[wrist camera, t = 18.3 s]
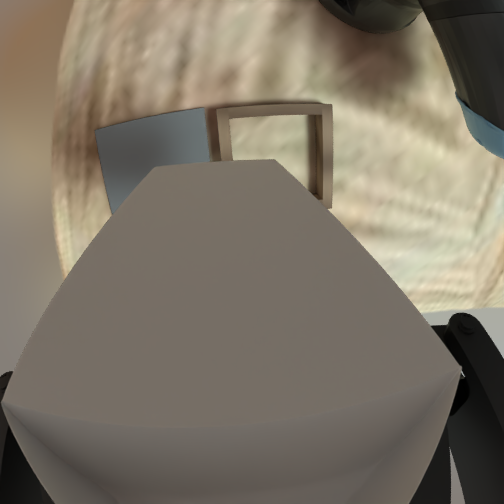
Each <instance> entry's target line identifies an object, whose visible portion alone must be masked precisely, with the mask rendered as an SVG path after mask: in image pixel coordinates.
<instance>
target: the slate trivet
mask: <svg viewBox="0 0 504 504" xmlns="http://www.w3.org/2000/svg"><path fill="white" fill-rule="evenodd" d="M95 135H96V141H97V147H98V153H99V158H100V163H101V168H102V173H103V177H104V182H105V186H106V191H107V195H108V199H109V203H110V207H111V211H112V215H113V214H114V212H115V211H116V210H117V209H118V208H119V206H120V205H121V204H122V203H123V202H124V200H125V199H126V198H127V197H128V196H129V195H130V193H131V192H132V191H133V190H134V189H135V188H136V187H137V185H138V184H139V183H140V182H141V181H142V180H143V179H144V178H145V177H146V176H147V174H148V173H149V172H150V171H151V170H152V169H153V168H154V167H158V166H167V165H177V164H189V163H201V162H210V156H209V147H208V138H207V129H206V119H205V110H204V108H198V109H191V110H185V111H178V112H173V113H167V114H161V115H156V116H151V117H146V118H142V119H137V120H133V121H128V122H124V123H120V124H116V125H112V126H108V127H105V128H101V129H97V130H95Z"/></svg>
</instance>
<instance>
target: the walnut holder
mask: <svg viewBox="0 0 504 504" xmlns="http://www.w3.org/2000/svg"><path fill="white" fill-rule="evenodd" d="M216 112H217V123H218V133H219V143H220V152H221V161H233V157H232V147H231V136H230V125H229V119H232V118H243V117H256V116H273V115H315V127H316V193H312V195H313V196H314V197H315V198H317V199H318V200H319V201H320V202H321V203H322V204H323V205H324V206H325V207H326V208H327V209H330V208H332V192H333V114H332V104H271V105H253V106H240V107H229V108H219V109H216Z"/></svg>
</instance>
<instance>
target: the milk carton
mask: <svg viewBox="0 0 504 504" xmlns="http://www.w3.org/2000/svg"><path fill="white" fill-rule="evenodd" d="M461 370H462V366H460V365H459V364H458V363H457V361H456V360H455V359H454V357H453V356H452V354H451V353H450V352H449V350H448V349H447V347H446V346H445V345H444V343H443V342H442V341H441V339H440V338H439V337H438V335H437V334H436V333H435V331H434V330H433V329H432V327H431V326H430V325H429V324H428V322H427V321H426V320H425V319H424V317H423V316H422V315H421V313H420V312H419V311H418V310H417V308H416V307H415V306H414V305H413V303H412V302H411V301H410V300H409V299H408V297H407V296H406V295H405V294H404V293H403V291H402V290H401V289H400V288H399V287H398V285H397V284H396V283H395V282H394V281H393V280H392V278H391V277H390V276H389V275H388V274H387V273H386V271H385V270H384V269H383V268H382V267H381V266H380V265H379V264H378V262H377V261H376V260H375V259H374V258H373V257H372V256H371V255H370V254H369V252H368V251H367V250H366V249H365V248H364V247H363V246H362V245H361V244H360V243H359V242H358V240H357V239H356V238H355V237H354V236H353V235H352V234H351V233H350V232H349V231H348V230H347V229H346V228H345V227H344V226H343V225H342V224H341V223H340V222H339V221H338V220H337V219H336V217H335V216H334V215H333V214H332V213H331V212H330V211H329V210H328V209H327V208H326V207H325V206H324V205H323V204H322V203H321V202H320V201H319V200H318V199H317V198H315V197H314V196H313V195H312V194H311V193H310V192H309V191H308V190H307V189H306V188H305V187H304V186H303V185H302V184H301V183H300V182H299V181H298V180H297V179H296V178H295V177H294V176H292V175H291V174H290V173H289V172H288V171H287V170H286V169H285V168H284V167H283V166H282V165H281V164H279V163H278V162H277V161H276V160H274V159H268V160H236V161H217V162H201V163H189V164H177V165H167V166H158V167H154V168H153V169H152V170H151V171H150V172H149V173H148V174H147V176H146V177H145V178H144V179H143V180H142V181H141V182H140V183H139V184H138V185H137V187H136V188H135V189H134V190H133V191H132V192H131V193H130V195H129V196H128V197H127V198H126V199H125V200H124V202H123V203H122V204H121V205H120V206H119V208H118V209H117V210H116V211H115V212H114V214H113V215H112V216H111V217H110V219H109V220H108V221H107V222H106V224H105V225H104V226H103V227H102V229H101V230H100V231H99V233H98V234H97V235H96V236H95V238H94V239H93V240H92V242H91V243H90V244H89V246H88V247H87V248H86V250H85V251H84V253H83V254H82V255H81V257H80V258H79V260H78V261H77V262H76V264H75V265H74V267H73V268H72V270H71V271H70V273H69V274H68V276H67V277H66V279H65V280H64V282H63V283H62V285H61V286H60V288H59V290H58V291H57V292H56V294H55V296H54V297H53V299H52V301H51V302H50V304H49V305H48V307H47V309H46V310H45V312H44V314H43V315H42V317H41V319H40V321H39V323H38V324H37V326H36V328H35V329H34V331H33V333H32V335H31V337H30V339H29V341H28V342H27V344H26V346H25V348H24V350H23V352H22V354H21V356H20V358H19V361H18V363H17V365H16V367H15V369H14V371H13V374H12V376H11V378H10V381H9V383H8V386H7V388H6V391H5V394H4V397H3V399H2V401H1V405H2V408H3V411H4V414H5V416H6V419H7V421H8V423H9V426H10V428H11V430H12V432H13V434H14V436H15V438H16V440H17V442H18V444H19V446H20V448H21V450H22V452H23V454H24V456H25V457H26V459H27V461H28V463H29V464H30V466H31V468H32V469H33V471H34V473H35V474H36V476H37V478H38V479H39V481H40V482H41V484H42V485H43V487H44V488H45V490H46V491H47V493H48V494H49V496H50V497H51V499H52V500H53V501H54V503H55V504H409V503H410V501H411V499H412V497H413V495H414V494H415V492H416V490H417V488H418V486H419V484H420V482H421V480H422V478H423V476H424V474H425V472H426V470H427V468H428V466H429V464H430V462H431V459H432V457H433V455H434V453H435V450H436V448H437V445H438V443H439V440H440V438H441V435H442V433H443V430H444V427H445V424H446V422H447V419H448V416H449V413H450V410H451V407H452V403H453V400H454V397H455V393H456V390H457V386H458V382H459V379H460V374H461Z"/></svg>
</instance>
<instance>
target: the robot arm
mask: <svg viewBox="0 0 504 504" xmlns="http://www.w3.org/2000/svg"><path fill="white" fill-rule="evenodd" d="M319 1H320V2H321V3H322V5H323V6H324V7H325V8H326V9H327V10H329V11H330V12H331V13H332V14H333V15H335V16H336V17H337V18H339V19H340V20H342V21H343V22H345V23H347V24H349V25H351V26H353V27H355V28H357V29H360V30H363V31H367V32H371V33H390V32H394V31H397V30H401V29H403V28H405V27H407V26H409V25H410V24H411V23H412V22H413V21H414V20H415V19H416V17H417V16H418V15H419V14H420V13H421V12H422V11H424V13H425V15H426V17H427V19H428V21H429V23H430V25H431V27H432V30H433V32H434V34H435V36H436V38H437V41H438V43H439V45H440V48H441V50H442V53H443V55H444V58H445V60H446V63H447V66H448V68H449V71H450V74H451V77H452V80H453V83H454V86H455V89H456V91H455V95H456V98H457V100H458V102H459V103H460V105H461V108H462V111H463V114H464V118H465V121H466V124H467V127H468V129H469V131H470V133H471V135H472V136H473V138H474V139H475V140H476V141H477V142H478V143H479V144H480V145H482V146H484V147H485V148H486V149H487V150H488V151H489V152H491V153H493V154H494V155H496V156H498V157H500V158H502V159H504V0H319ZM431 327H432V329H433V330H434V331H435V333H436V334H437V335H438V337H439V338H440V339H441V341H442V342H443V343H444V345H445V346H446V347H447V349H448V350H449V352H450V353H451V354H452V356H453V357H454V359H455V360H456V361H457V363H458V364H459V365H460V366H462V372H463V374H464V376H465V377H464V376H463V375H462V373H461V374H460V379H459V382H458V386H457V390H456V393H455V397H454V400H453V403H452V407H451V410H450V413H449V416H448V419H447V422H446V424H445V427H444V430H443V433H442V435H441V438H440V440H439V443H438V445H437V448H436V450H435V453H434V455H433V457H432V459H431V462H430V464H429V466H428V468H427V470H426V472H425V474H424V476H423V478H422V480H421V482H420V484H419V486H418V488H417V490H416V492H415V494H414V495H413V497H412V499H411V501H410V503H409V504H450V503H451V466H450V449H451V452H452V455H453V459H454V462H455V465H456V469H457V472H458V476H459V480H460V483H461V487H462V491H463V495H464V499H465V504H504V359H503V357H502V355H501V354H500V352H499V350H498V349H497V347H496V346H495V344H494V342H493V341H492V339H491V338H490V336H489V335H488V333H487V332H486V330H485V329H484V327H483V326H482V325H481V323H480V322H479V321H478V320H477V319H476V318H475V317H473V316H472V315H470V314H467V313H456V314H454V315H453V316H452V317H451V318H450V319H449V322H448V324H447V325H436V326H431ZM12 374H13V371H9V372H6V373H4V374H3V375H1V377H0V504H55V503H54V501H53V500H52V499H51V497H50V496H49V494H48V493H47V491H46V490H45V488H44V487H43V485H42V484H41V482H40V481H39V479H38V478H37V476H36V474H35V473H34V471H33V469H32V468H31V466H30V464H29V463H28V461H27V459H26V457H25V456H24V454H23V452H22V450H21V448H20V446H19V444H18V442H17V440H16V438H15V436H14V434H13V432H12V430H11V428H10V426H9V423H8V421H7V419H6V416H5V414H4V411H3V408H2V405H1V401H2V399H3V397H4V394H5V391H6V388H7V386H8V383H9V381H10V378H11V376H12ZM449 446H450V448H449Z"/></svg>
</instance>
